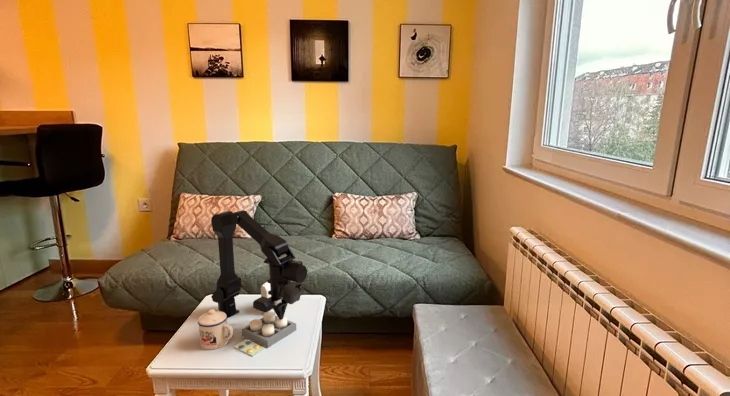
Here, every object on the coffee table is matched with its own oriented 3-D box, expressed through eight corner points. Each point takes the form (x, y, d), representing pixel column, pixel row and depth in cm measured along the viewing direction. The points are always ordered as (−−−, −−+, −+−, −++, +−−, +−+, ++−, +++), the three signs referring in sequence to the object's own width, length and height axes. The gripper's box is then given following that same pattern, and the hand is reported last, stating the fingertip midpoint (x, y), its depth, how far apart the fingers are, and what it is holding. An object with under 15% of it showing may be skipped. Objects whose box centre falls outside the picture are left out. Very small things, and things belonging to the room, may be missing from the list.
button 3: (261, 322, 142) (260, 315, 142) (269, 317, 146) (269, 311, 145) (269, 325, 140) (268, 318, 140) (277, 320, 143) (277, 313, 143)
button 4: (273, 327, 139) (272, 320, 139) (281, 322, 142) (281, 315, 142) (281, 330, 137) (281, 323, 136) (289, 325, 140) (289, 318, 140)
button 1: (247, 329, 138) (247, 322, 137) (256, 324, 141) (256, 318, 140) (255, 333, 135) (255, 326, 135) (264, 328, 139) (264, 321, 138)
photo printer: (267, 316, 151) (265, 285, 148) (260, 313, 153) (258, 282, 151) (289, 306, 158) (287, 276, 156) (281, 303, 161) (280, 274, 158)
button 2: (259, 335, 134) (259, 327, 134) (268, 329, 137) (268, 322, 137) (268, 338, 132) (267, 331, 131) (277, 333, 135) (276, 326, 135)
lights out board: (227, 344, 133) (226, 337, 132) (270, 319, 148) (270, 313, 148) (253, 357, 126) (253, 349, 125) (296, 329, 141) (296, 323, 140)
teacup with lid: (193, 347, 131) (190, 314, 129) (212, 333, 140) (209, 302, 137) (224, 354, 127) (221, 320, 125) (242, 339, 136) (239, 307, 133)
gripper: (274, 292, 124) (277, 338, 127) (314, 272, 139) (316, 314, 142) (250, 284, 130) (253, 328, 133) (291, 266, 145) (293, 306, 148)
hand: (281, 319), depth 139 cm, fingers closed
